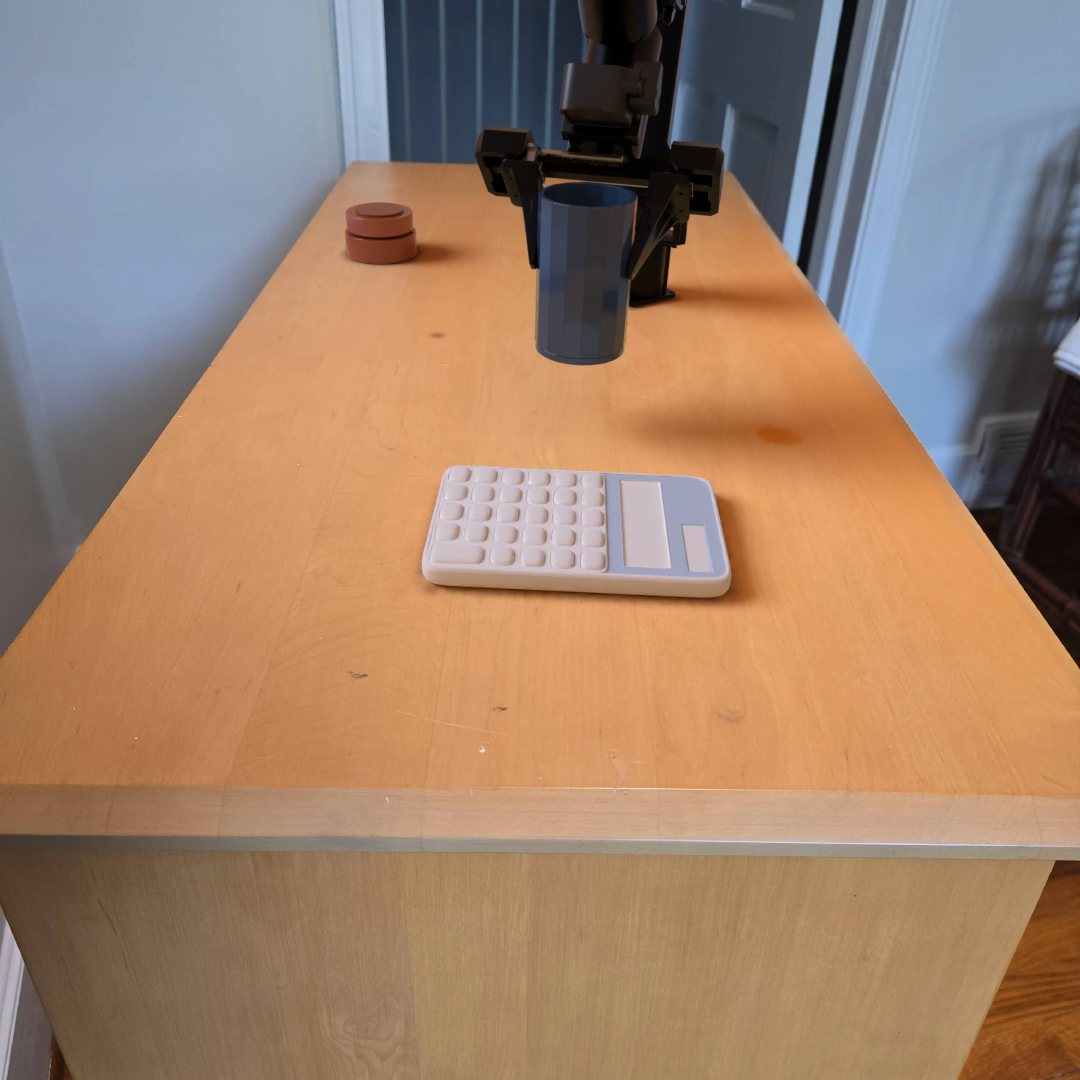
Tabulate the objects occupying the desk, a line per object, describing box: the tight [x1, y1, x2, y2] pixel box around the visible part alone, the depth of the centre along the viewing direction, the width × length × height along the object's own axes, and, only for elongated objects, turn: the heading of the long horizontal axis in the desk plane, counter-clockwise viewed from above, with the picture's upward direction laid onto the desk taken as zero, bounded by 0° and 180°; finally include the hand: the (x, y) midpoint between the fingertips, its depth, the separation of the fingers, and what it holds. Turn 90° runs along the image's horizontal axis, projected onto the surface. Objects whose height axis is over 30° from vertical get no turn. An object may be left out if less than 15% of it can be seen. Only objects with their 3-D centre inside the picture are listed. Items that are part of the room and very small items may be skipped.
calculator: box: [421, 465, 732, 599], centre depth 65 cm, size 13×20×2 cm, turn 88°
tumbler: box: [534, 181, 638, 366], centre depth 72 cm, size 7×7×12 cm
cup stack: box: [344, 201, 418, 265], centre depth 114 cm, size 9×9×5 cm
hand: (580, 271), depth 71 cm, fingers closed on tumbler, 7 cm apart
